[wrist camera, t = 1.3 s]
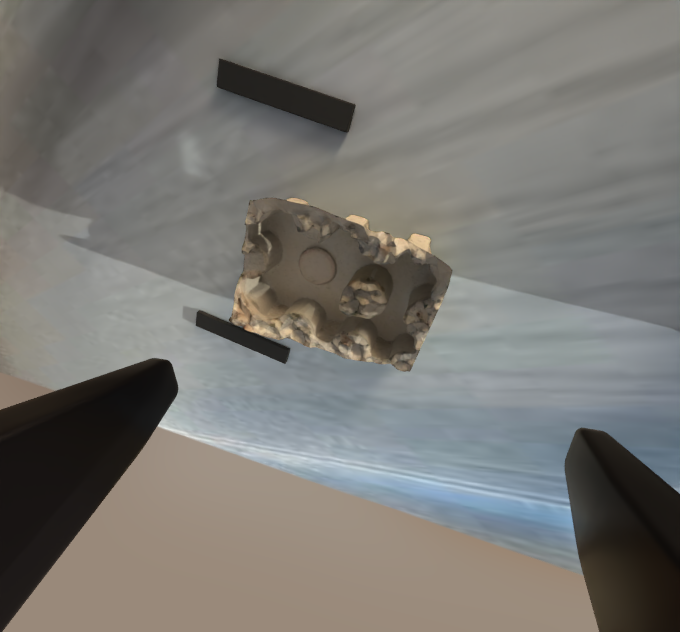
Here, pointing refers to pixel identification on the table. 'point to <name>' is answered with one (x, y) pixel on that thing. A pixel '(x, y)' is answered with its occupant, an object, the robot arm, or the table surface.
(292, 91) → the bay strips
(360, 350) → the tan rough lump
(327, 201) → the table surface
